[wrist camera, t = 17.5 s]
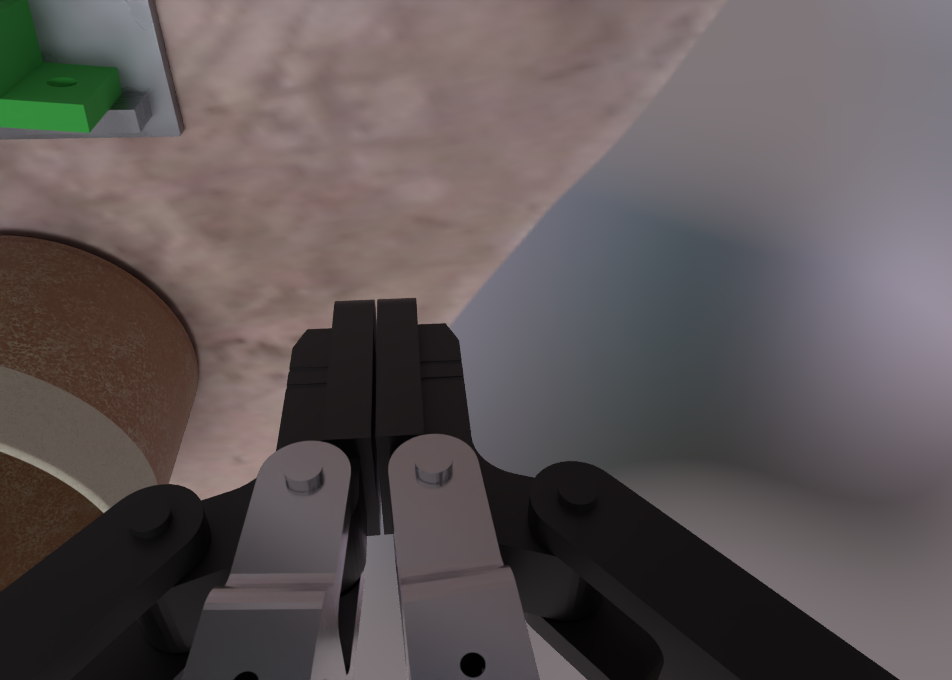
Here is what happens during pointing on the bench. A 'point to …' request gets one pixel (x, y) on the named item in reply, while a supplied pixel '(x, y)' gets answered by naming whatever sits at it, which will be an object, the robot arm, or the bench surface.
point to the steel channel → (110, 63)
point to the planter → (81, 394)
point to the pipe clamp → (47, 81)
